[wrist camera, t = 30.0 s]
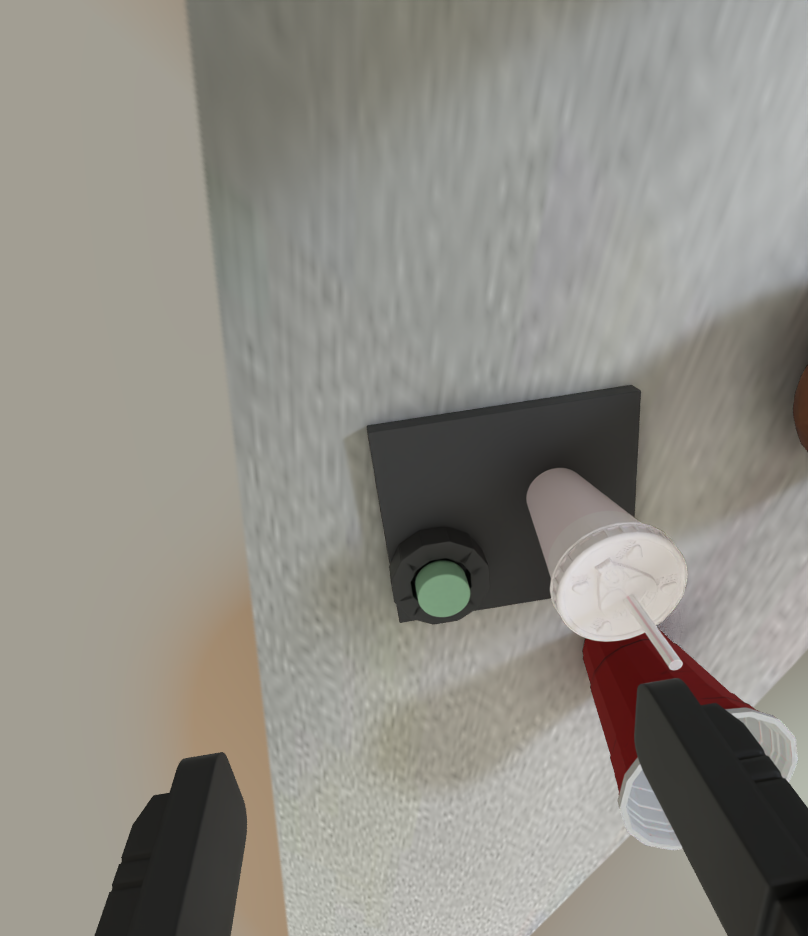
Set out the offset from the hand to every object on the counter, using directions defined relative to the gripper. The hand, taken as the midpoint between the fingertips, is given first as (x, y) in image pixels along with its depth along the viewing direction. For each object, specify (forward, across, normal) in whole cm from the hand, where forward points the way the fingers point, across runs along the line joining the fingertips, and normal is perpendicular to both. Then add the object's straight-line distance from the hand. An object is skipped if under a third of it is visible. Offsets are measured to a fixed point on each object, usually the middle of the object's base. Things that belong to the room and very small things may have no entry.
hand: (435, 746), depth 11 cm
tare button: (+22, -2, +12) cm, 25 cm away
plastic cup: (+24, -15, +23) cm, 36 cm away
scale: (+24, -7, +9) cm, 27 cm away
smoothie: (+23, -10, +8) cm, 26 cm away
